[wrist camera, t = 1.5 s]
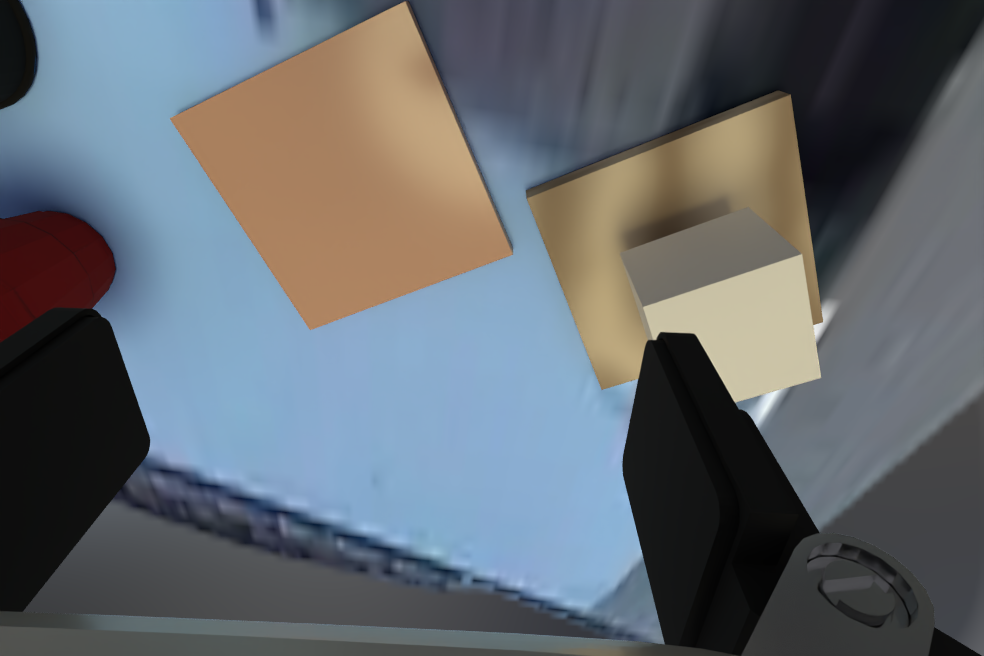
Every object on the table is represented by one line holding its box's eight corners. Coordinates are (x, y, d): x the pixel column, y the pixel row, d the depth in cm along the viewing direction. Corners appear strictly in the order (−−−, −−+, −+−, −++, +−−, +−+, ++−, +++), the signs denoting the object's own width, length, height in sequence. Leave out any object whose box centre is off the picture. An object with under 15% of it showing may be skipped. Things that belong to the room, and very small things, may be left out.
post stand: (778, 90, 29) (882, 126, 21) (811, 310, 36) (901, 403, 28) (526, 190, 32) (531, 255, 24) (598, 376, 39) (622, 478, 31)
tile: (408, 1, 28) (405, 1, 27) (512, 247, 34) (513, 254, 33) (179, 115, 31) (169, 118, 30) (314, 322, 37) (310, 330, 36)
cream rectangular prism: (748, 206, 28) (802, 253, 23) (769, 314, 31) (821, 377, 26) (619, 253, 30) (642, 307, 24) (651, 351, 33) (678, 418, 27)
